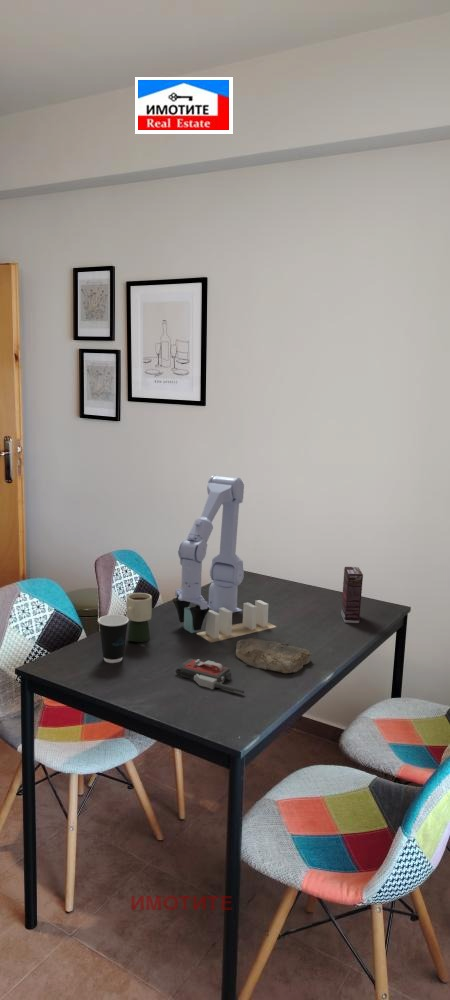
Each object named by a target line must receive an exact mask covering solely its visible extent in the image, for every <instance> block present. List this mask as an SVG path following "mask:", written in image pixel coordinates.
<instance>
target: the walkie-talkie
mask: <svg viewBox="0 0 450 1000" xmlns="http://www.w3.org/2000/svg"><path fill="white" fill-rule="evenodd" d="M175 674H177V675H180V677H183V678H187V679H191V680H193V681H195V683H197V685H198V686H200V687H204V688H208V689H210V690H213V689H215V688H216V689H217V688H218V689H222V690H227V691H229V692H230V691H231V692H236V693H237V692H238V693H241V694H244V693H245V690H244V689H242V688H240V687H239V688H238V687H235V686H231V685H227V684H223V683H224V682H226V681H230V679H232V672H231V669H230V668H229V667H226V666H224V665H223V664H222V663H220V662H215V661H212V660H209V659H208V660H206V661H202V660H201V659H199V658H198V659H193V658H189V659H188V660H186V661H184V662H183V663H182V664H180V668H177V669H175Z"/></svg>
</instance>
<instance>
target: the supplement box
mask: <svg viewBox="0 0 450 1000" xmlns="http://www.w3.org/2000/svg"><path fill="white" fill-rule="evenodd" d="M363 578H364V574H363V573H362V571H361V569H360V567H358V566H344V568H343V582H342V594H341V595H342V596H341V597H342V598H341V609H340V615H341V616H342V619H343V621H344V623H347V624H359V623H360V619H361V618H360V615H361V607H362V606H361V603H362V593H363V591H362V590H363Z"/></svg>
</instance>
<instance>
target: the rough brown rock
mask: <svg viewBox="0 0 450 1000" xmlns="http://www.w3.org/2000/svg"><path fill="white" fill-rule="evenodd" d="M235 648H236V649H235V655H236V657H237V659H239V660H241V661H242V662H244V665H248V666H250V667H254V668H256V669H262V670H265V671H269V670H270V671H273V672H278V673H282V674H291V673H297V672H299V671H300V670H302V669H303V667H304V666H306V665H307V664H309V663H310V662H311V661H312V655H313V653H312V652H311V651H309V650H308V649H307V648H303V647H302V648H301V647H297V646H294V645H289V644H287V643H283V642H277V641H274V640H273V641H271V640H270V641H269V640H265V639H264V640H263V639H260V638H259V639H258V638H254V637H253V638H243V639H239V640H238V641H236V645H235Z"/></svg>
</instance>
